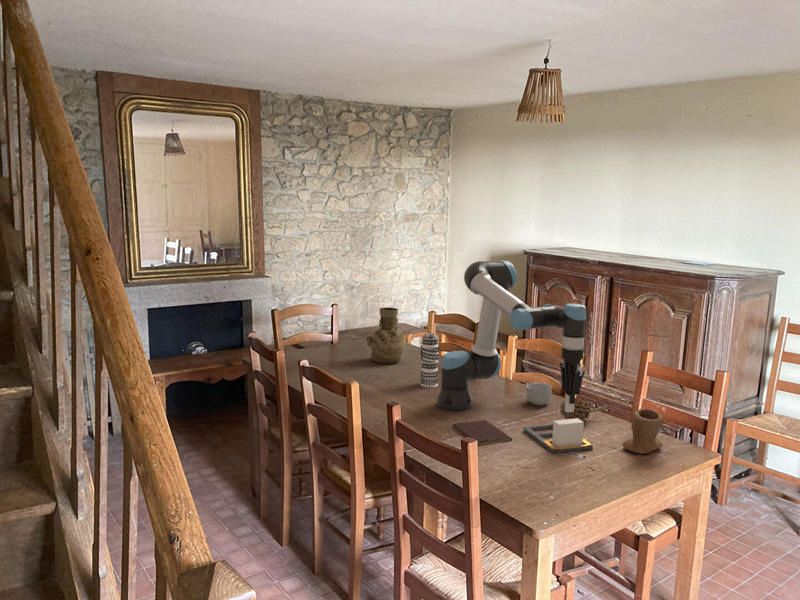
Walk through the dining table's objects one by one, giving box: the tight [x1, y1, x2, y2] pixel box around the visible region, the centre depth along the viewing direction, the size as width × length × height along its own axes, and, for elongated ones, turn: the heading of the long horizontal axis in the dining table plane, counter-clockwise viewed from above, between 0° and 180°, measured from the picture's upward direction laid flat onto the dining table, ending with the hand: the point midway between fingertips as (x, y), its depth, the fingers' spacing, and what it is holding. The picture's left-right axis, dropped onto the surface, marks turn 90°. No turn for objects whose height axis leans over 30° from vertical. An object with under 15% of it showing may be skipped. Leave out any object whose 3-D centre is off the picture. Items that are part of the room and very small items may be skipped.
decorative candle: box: [420, 332, 440, 388], centre depth 295 cm, size 9×9×25 cm
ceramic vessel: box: [366, 306, 405, 365], centre depth 336 cm, size 19×21×30 cm
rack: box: [522, 424, 594, 455], centre depth 230 cm, size 16×23×2 cm
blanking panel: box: [551, 418, 585, 448], centre depth 223 cm, size 10×4×10 cm, turn 106°
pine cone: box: [558, 397, 609, 422], centre depth 251 cm, size 22×10×10 cm, turn 110°
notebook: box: [452, 419, 513, 446], centre depth 236 cm, size 15×20×2 cm
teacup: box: [525, 381, 553, 406], centre depth 273 cm, size 14×11×8 cm
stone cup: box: [622, 408, 664, 455], centre depth 221 cm, size 15×12×15 cm
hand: (569, 411), depth 221 cm, fingers closed
